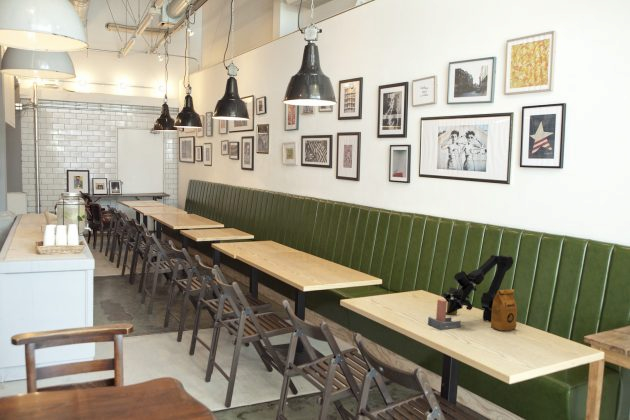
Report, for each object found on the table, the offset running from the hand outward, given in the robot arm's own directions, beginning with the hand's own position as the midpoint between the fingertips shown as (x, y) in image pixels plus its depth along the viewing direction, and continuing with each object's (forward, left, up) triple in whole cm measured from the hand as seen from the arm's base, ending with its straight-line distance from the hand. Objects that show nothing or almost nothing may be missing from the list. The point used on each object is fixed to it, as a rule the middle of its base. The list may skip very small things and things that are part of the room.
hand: (448, 312), depth 291 cm
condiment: (+1, -25, -7) cm, 26 cm away
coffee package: (-29, -11, -7) cm, 31 cm away
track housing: (+1, +2, -7) cm, 7 cm away
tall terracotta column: (+3, +4, -6) cm, 8 cm away
